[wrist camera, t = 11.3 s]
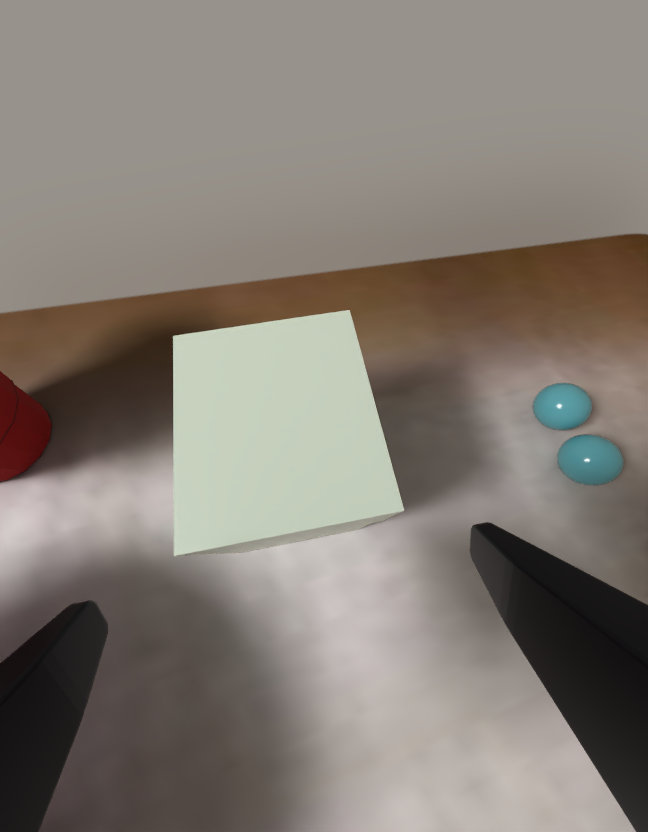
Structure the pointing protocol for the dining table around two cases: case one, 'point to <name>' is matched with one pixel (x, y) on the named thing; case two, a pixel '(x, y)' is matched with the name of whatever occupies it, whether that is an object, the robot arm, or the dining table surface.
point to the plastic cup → (20, 429)
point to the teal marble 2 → (590, 459)
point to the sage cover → (275, 436)
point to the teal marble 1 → (562, 406)
